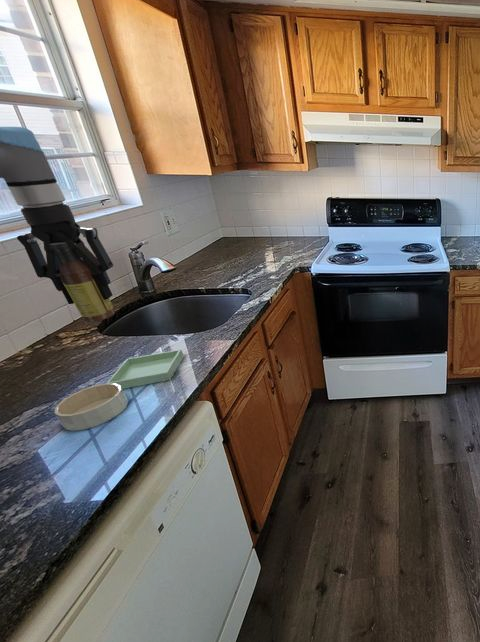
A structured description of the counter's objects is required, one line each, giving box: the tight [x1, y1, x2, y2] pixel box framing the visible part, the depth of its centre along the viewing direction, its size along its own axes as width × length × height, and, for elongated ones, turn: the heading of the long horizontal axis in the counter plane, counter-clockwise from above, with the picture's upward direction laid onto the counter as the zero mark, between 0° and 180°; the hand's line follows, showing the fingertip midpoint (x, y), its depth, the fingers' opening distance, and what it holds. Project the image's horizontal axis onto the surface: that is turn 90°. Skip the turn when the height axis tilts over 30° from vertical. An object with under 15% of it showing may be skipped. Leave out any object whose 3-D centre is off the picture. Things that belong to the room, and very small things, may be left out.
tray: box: [106, 348, 185, 390], centre depth 106 cm, size 14×13×2 cm
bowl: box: [54, 382, 129, 432], centre depth 90 cm, size 12×12×4 cm
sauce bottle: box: [49, 242, 116, 323], centre depth 88 cm, size 7×6×20 cm
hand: (91, 299), depth 90 cm, fingers closed on sauce bottle, 6 cm apart
